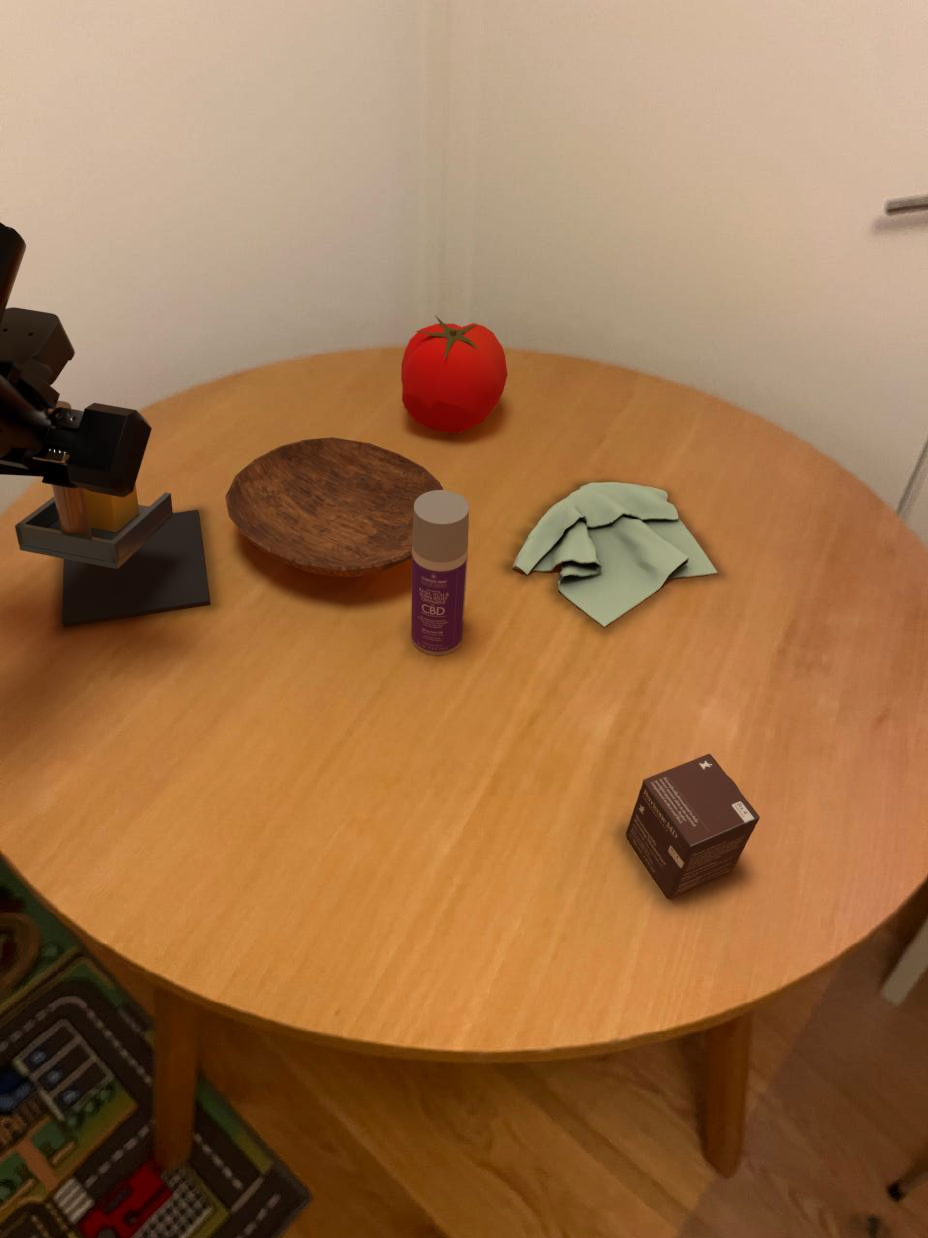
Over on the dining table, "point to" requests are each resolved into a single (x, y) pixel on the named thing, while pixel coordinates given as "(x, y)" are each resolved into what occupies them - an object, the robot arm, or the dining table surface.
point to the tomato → (452, 376)
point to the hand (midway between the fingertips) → (76, 474)
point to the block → (111, 510)
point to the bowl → (330, 505)
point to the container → (439, 571)
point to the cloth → (613, 547)
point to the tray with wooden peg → (87, 528)
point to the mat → (141, 577)
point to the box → (690, 824)
